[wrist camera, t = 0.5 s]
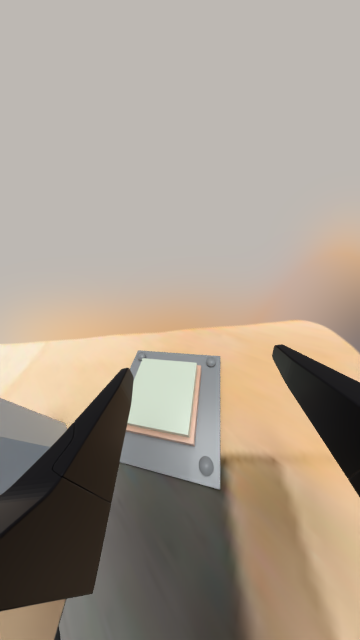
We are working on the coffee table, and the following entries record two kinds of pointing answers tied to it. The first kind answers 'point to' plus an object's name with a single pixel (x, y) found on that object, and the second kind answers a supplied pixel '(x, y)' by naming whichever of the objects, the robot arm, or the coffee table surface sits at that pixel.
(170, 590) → the coffee table surface
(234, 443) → the coffee table surface
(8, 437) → the tall brick
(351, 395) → the robot arm
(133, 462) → the bolted base plate
